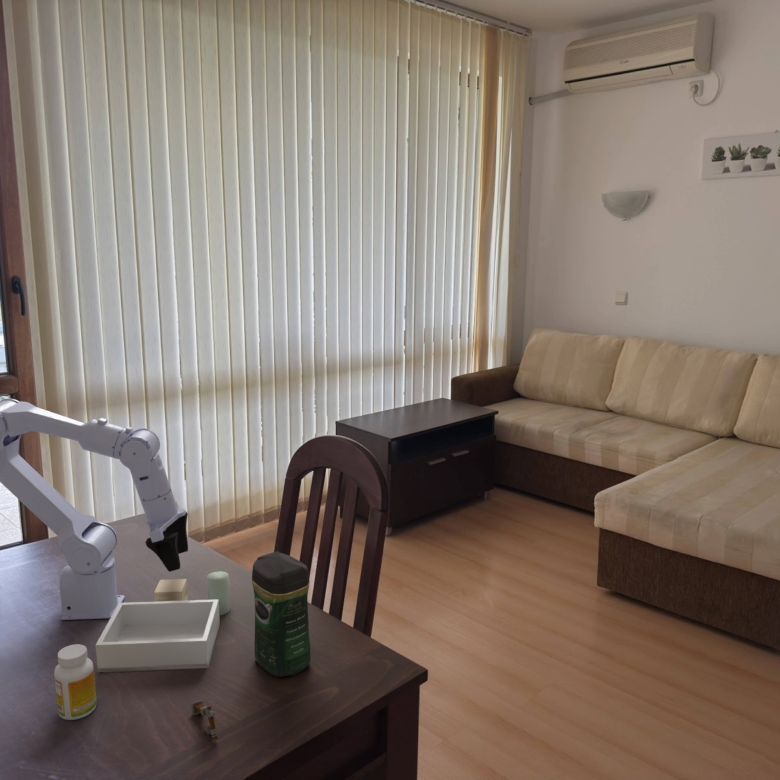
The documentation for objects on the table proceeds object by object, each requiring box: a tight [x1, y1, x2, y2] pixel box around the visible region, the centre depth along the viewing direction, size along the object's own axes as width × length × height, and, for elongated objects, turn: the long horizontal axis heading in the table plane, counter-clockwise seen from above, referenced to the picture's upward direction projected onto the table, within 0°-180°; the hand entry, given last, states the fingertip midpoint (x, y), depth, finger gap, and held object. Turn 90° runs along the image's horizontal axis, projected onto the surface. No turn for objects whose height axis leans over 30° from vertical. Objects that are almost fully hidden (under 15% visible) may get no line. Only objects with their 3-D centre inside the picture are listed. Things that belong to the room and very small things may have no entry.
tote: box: [95, 599, 221, 674], centre depth 124 cm, size 18×14×5 cm
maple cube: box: [153, 578, 189, 602], centre depth 137 cm, size 5×5×5 cm
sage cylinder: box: [206, 570, 231, 616], centre depth 136 cm, size 4×4×7 cm
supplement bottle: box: [53, 643, 98, 721], centre depth 107 cm, size 5×5×10 cm
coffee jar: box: [251, 550, 312, 678], centre depth 119 cm, size 10×8×19 cm
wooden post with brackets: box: [190, 699, 218, 741], centre depth 104 cm, size 2×8×4 cm, turn 32°
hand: (178, 560), depth 135 cm, fingers open, 7 cm apart
